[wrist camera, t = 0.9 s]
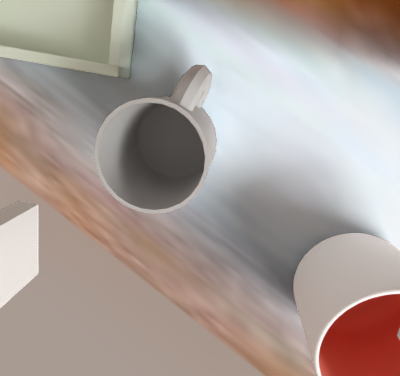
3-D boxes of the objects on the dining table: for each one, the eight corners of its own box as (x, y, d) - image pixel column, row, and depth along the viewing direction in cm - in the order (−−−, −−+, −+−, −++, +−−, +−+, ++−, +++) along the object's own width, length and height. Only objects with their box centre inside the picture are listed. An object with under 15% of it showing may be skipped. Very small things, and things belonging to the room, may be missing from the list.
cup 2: (276, 308, 33) (292, 395, 24) (313, 213, 30) (349, 269, 21) (378, 339, 33) (436, 440, 23) (425, 246, 30) (513, 318, 21)
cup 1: (121, 156, 31) (76, 180, 22) (171, 48, 28) (142, 28, 19) (193, 194, 31) (176, 233, 22) (249, 91, 28) (255, 91, 20)
